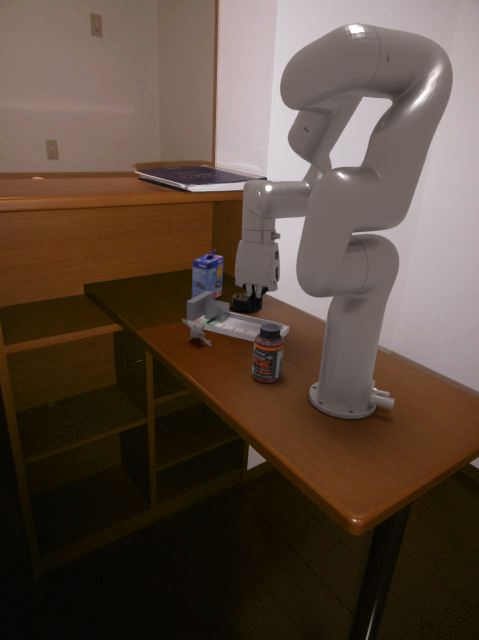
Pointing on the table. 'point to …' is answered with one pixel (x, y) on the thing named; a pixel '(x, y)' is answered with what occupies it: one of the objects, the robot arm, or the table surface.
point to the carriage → (216, 311)
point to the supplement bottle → (268, 354)
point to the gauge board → (227, 320)
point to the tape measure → (240, 302)
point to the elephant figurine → (196, 331)
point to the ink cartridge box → (207, 274)
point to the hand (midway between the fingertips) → (255, 311)
